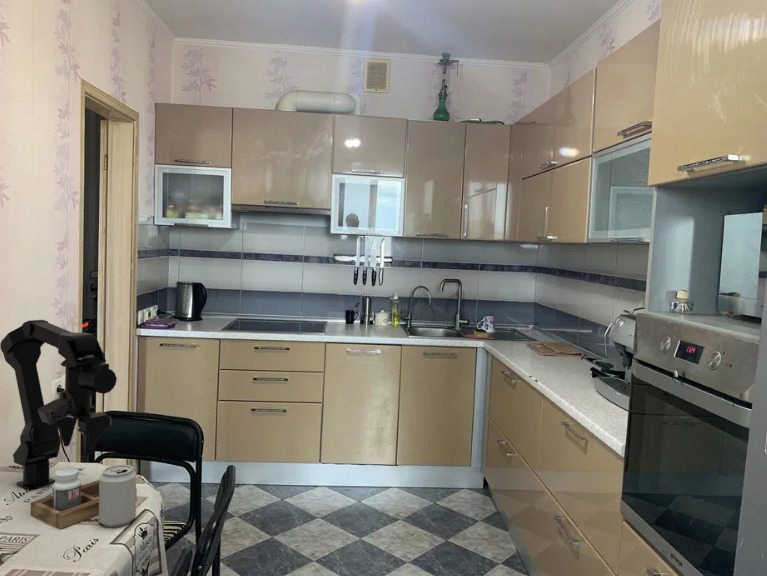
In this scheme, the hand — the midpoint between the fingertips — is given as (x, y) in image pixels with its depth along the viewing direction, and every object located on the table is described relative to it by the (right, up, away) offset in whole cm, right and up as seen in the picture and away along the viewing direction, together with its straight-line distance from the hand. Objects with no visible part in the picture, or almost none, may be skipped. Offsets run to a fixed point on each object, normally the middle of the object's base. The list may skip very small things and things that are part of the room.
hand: (76, 450), depth 139 cm
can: (+14, -13, -10) cm, 22 cm away
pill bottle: (+2, -13, -7) cm, 15 cm away
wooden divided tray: (+4, -13, -4) cm, 14 cm away
